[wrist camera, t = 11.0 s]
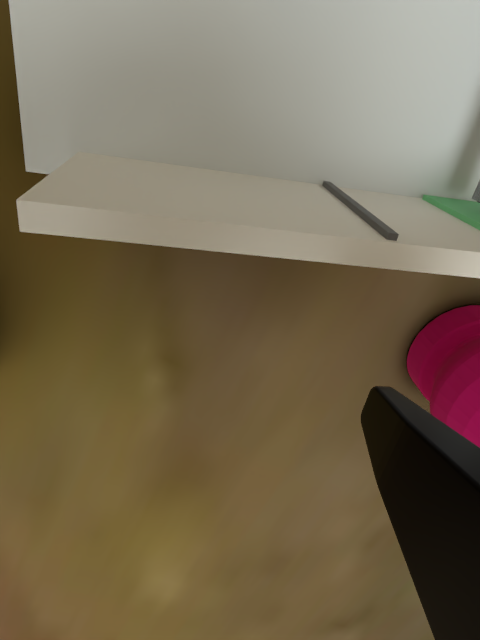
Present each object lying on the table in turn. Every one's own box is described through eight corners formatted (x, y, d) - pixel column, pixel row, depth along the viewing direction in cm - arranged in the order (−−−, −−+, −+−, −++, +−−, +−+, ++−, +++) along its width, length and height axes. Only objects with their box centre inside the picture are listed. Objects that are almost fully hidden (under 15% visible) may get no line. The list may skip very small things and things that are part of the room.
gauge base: (35, 165, 17) (-67, 230, 10) (-14, -383, 11) (-398, -1256, 4) (558, 232, 22) (736, 309, 15) (754, -125, 15) (1250, -293, 8)
